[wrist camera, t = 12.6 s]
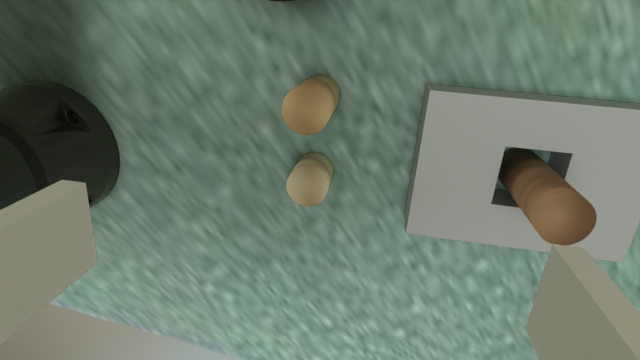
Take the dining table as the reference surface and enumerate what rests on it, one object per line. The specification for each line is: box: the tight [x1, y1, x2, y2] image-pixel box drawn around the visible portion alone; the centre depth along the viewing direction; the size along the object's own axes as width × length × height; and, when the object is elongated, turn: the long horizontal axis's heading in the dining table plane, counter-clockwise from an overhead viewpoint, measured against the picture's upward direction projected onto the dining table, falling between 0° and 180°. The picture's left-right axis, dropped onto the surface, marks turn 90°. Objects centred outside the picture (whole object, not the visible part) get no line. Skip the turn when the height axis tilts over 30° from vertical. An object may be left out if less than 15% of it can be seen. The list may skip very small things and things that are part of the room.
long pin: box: [498, 147, 597, 246], centre depth 35 cm, size 4×4×12 cm
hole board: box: [404, 84, 640, 262], centre depth 39 cm, size 20×14×4 cm
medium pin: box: [282, 74, 340, 135], centre depth 37 cm, size 4×4×8 cm
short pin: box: [286, 152, 334, 206], centre depth 42 cm, size 4×4×5 cm
